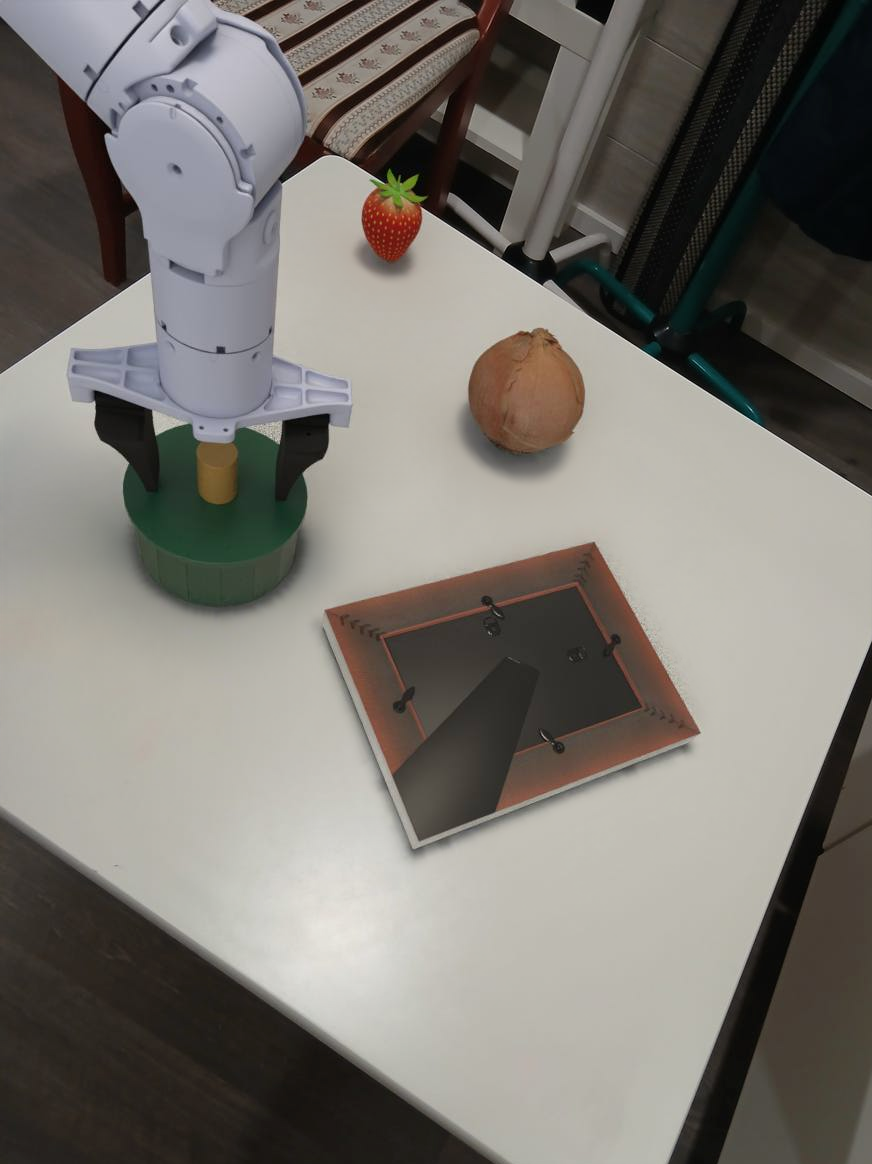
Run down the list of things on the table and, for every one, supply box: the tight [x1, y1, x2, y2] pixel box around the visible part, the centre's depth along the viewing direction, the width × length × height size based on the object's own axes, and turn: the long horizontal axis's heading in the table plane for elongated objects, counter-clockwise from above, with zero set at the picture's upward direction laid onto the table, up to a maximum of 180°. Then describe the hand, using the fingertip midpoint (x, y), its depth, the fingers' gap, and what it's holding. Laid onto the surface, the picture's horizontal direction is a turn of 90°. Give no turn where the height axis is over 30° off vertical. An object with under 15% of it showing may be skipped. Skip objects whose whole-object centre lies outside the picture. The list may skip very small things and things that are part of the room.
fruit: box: [361, 168, 429, 263], centre depth 73 cm, size 5×5×8 cm
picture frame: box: [321, 541, 701, 850], centre depth 58 cm, size 16×2×22 cm
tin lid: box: [122, 423, 309, 568], centre depth 52 cm, size 11×11×5 cm
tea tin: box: [133, 526, 299, 608], centre depth 56 cm, size 10×10×5 cm
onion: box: [467, 327, 586, 456], centre depth 67 cm, size 10×9×10 cm
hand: (218, 484), depth 53 cm, fingers open, 7 cm apart
